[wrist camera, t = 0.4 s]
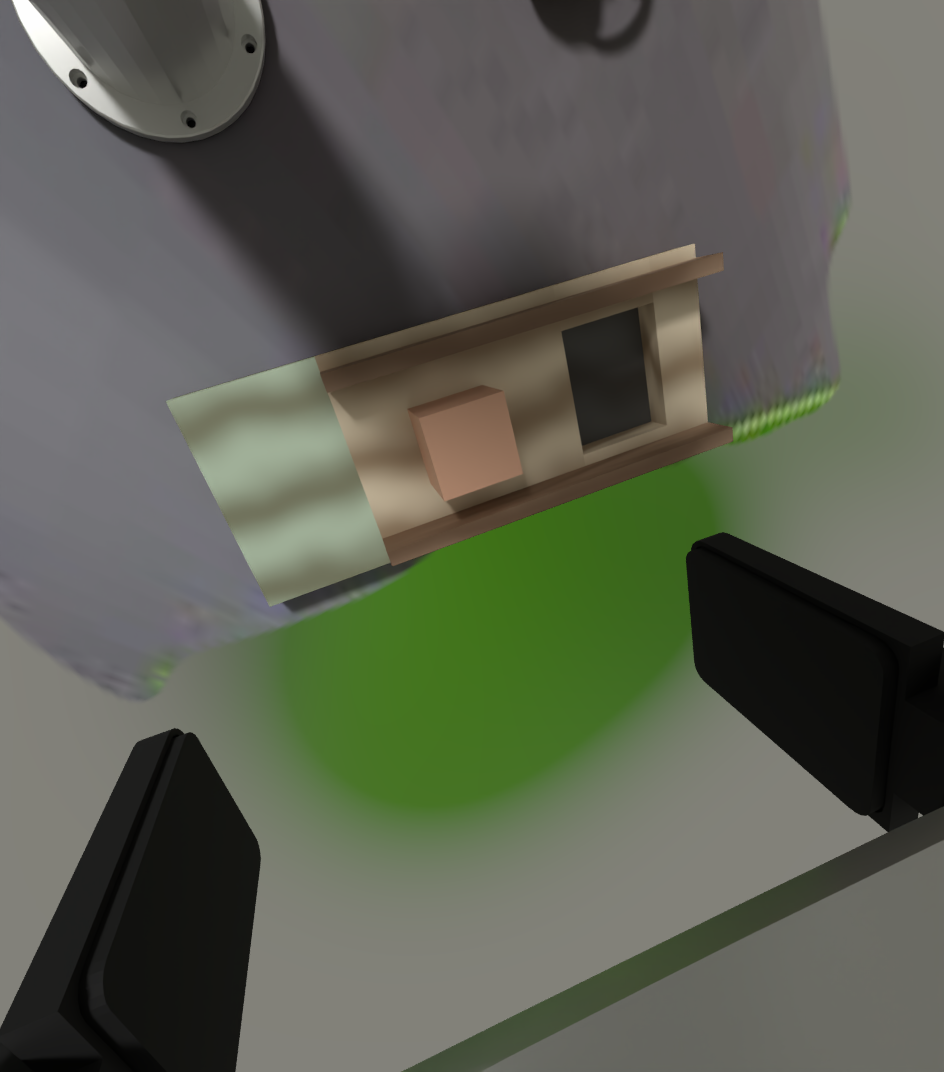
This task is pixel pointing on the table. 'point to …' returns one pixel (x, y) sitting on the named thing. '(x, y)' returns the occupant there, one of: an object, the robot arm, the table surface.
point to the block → (466, 441)
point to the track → (441, 370)
